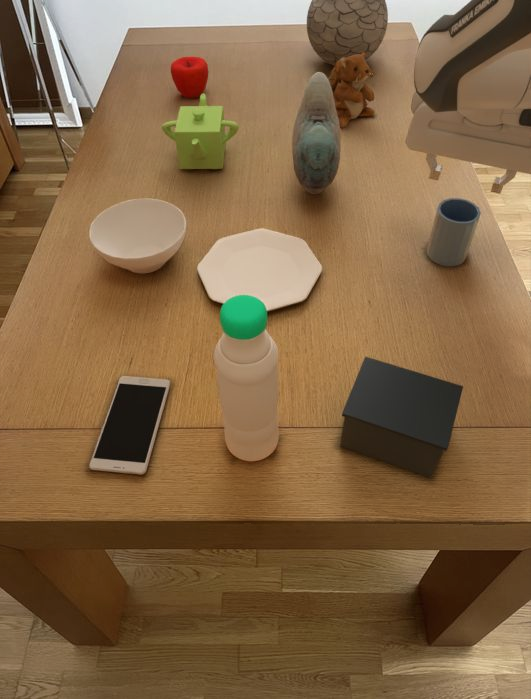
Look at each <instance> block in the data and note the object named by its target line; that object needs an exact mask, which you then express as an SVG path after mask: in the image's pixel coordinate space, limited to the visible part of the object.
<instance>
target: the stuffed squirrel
mask: <svg viewBox="0 0 531 699" xmlns="http://www.w3.org/2000/svg"><path fill="white" fill-rule="evenodd" d="M365 57H366V53H364V52H363V53H362V54H356V55H352V56H349V57H348V58H345V57H343V58H341V59H340V60H339V61H337V63H336V65H335V66H333V67H332V68H333V69H331V71H330V76H329V78H328V80H329V82H330V85H331V88H332V92H333V98H334V102H335V108H336V111H337V115H338V119H339V124H340V129H343V128H347V127H348V125H349V124H350V121H351V120H354V119H357V118H358V117H373V116H374V115H375V110H374V108H371V107H368V102H369V103H371V102H373V101H374V100H375V92H374V91H373V89H371V88H370V86H369V85H367V83H365V81H367V80H368V79H369V78H370V75H371V78H373V77H374V76H376V75H375V72H373V70H371V69H370V66H369V65H368V63H367V60H365Z"/></svg>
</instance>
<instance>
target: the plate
mask: <svg viewBox="0 0 531 699" xmlns="http://www.w3.org/2000/svg"><path fill="white" fill-rule="evenodd" d="M196 271H197V274H198V275H199V278H200V280H201V283H202V284H203V287H204V289H205V291H206V294H207V296H208V298H209V300H211V301H212V302H215V303H217V304H220V305H223V304H224V303H225V302H226V301H227V300H229V299H230V298H232V297H235V296H236V295H237V296H239V295H249V296H250V295H251V296H254V297H255V298H258V299H259V300H261V302H263V303H264V305H265V307H266V309H267V313H269V312H273V311H276V310H280V309H283V308H286V307H290V306H294V305H297V304H301V303H303V302H304V301H305V300H307V298H308V297H309V295H310V294H311V292H312V290H313V288H314V286H315V284H316V282H317V281H318V279H319V278H320V275H321V274H322V273H323V266H322V264H321V263H320V261H319V259H318V258H317V257H316V255H315V253H314V252H313V250H312V249H311V248H310V246H309V245H308V243H307V242H306V240H304V239H303V238H301V237H297V236H293V235H290V234H286V233H282V232H279V231H275V230H271V229H268V228H260V227H259V228H255V229H251V230H247V231H244V232H243V231H242V232H239V233H235V234H231V235H227V236H223V237H221V238H219V239H218V240H216V241H215V242H214V244H212V246H211V248H210V249H209V251H207V253H206V254H205V255H204V257H203V258H202V259H201V261H199V263H198V264H197V266H196Z"/></svg>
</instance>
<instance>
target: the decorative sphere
mask: <svg viewBox="0 0 531 699" xmlns="http://www.w3.org/2000/svg"><path fill="white" fill-rule="evenodd" d="M388 11H389V10H388V6H387V2H386V0H311V1H310V3H309V7H308V10H307V15H306V32H307V37H308V40H309V43H310V46H311V47H312V49H313V51H314V52H315V53H316V55H317V56H318V57H319V58H320V59H321V60H322V61H323V62H325V63H327V64H329V65H330V66H333V67H335V65H336V63H337V61H339V60H340V59H341V58H343V57H345V58H348V57H349V56H352V55H356V54H362V53H363V52H364V53H366V57H365V61H367V60H368V59H370V58H371V57H372V56H373V55H374V54H375V53H376V52H377V50H378V49H379V48H380V46H381V44H382V42H383V40H384V38H385V36H386V32H387V29H388V21H389V12H388Z"/></svg>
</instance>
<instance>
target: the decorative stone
mask: <svg viewBox="0 0 531 699" xmlns="http://www.w3.org/2000/svg"><path fill="white" fill-rule="evenodd" d="M291 140H292V141H291V148H292V149H291V152H292V153H291V154H292V164H293V169H294V173H295V176H296V178H297V180H298V183H299V184H300V185H301V187H302V188H303V189H304V190H305V191H306V192H307V193H309V194H310V195H318V194H321V193H322V192H324V191H325V190H326V189H327V188H328V187H329V186H330V185H331V184H332V183H333V181H334V180H335V178H336V176H337V174H338V170H339V167H340V162H341V149H342V148H341V145H342V134H341V127H340V124H339V119H338V115H337V111H336V108H335V102H334V98H333V92H332V88H331V85H330V82H329V78H328V77H327V75H326V74H325V73H324V72H323V71H316V72H315V73H314V74H313V75H312V76H311V77H310V78H309V80H308V82H307V84H306V86H305V90H304V93H303V97H302V100H301V102H300V107H299V109H298V111H297V114H296V117H295V120H294V124H293V128H292V139H291Z"/></svg>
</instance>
